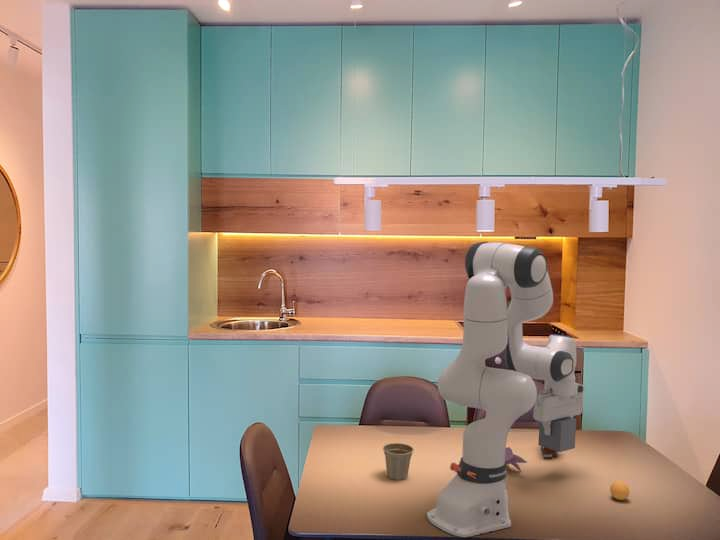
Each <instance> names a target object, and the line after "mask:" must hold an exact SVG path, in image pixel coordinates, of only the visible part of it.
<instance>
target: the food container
mask: <svg viewBox="0 0 720 540" xmlns="http://www.w3.org/2000/svg"><path fill="white" fill-rule="evenodd" d="M540 451H541V452H542V453H541V452H540V453H541V456H542V459H543V460H553V459H552V458H555V457H556V458H557V457H558V453H559V452H557V451H555V450H552V449H549V448H546V447H543V446H540ZM556 458H555V459H556Z"/></svg>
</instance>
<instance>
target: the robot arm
mask: <svg viewBox="0 0 720 540" xmlns="http://www.w3.org/2000/svg"><path fill="white" fill-rule="evenodd" d="M464 267H465V272H466V274H467V278H468V281H467V283H466V285H465V287H466V288H465V293H464V299H463V301H464V302H463V333H462V335H463V336H462V344H461V347H460V350H459V353H458V355H457V356H456V358H455V359H454V360H453V361H451V362H450V363H449V364H447V365H446V366H445V367H444V368H442V370H441V371H440V373H439V375H438V379H437V389H438V392H439V394H440V396H441V398H442V399H443V400H445V401H447V402H449V403H451V404H454V405H458V406H461V407H467V408H474V409H480V410H483V411H485V417H484V418H481V419H478V420H476V421H472V422H471V423H469V424H468V425H467V426H466V427H465V428H464V430H463V432H462V433H463V434H462V450H461V451H462V455H461V457H460V461H459V464H457V463H456V462H451V463H450V465H449V469H450V471H454V473H456V474H455V476H453V478H452V479H451V480H450V481H449V482H448V483H447V484H446V486H445V487H444V488H443V489H442V490H441V491H440V492H439V493H438V495H437V500H436V507H434V508H433V509H430V510H429V511H427V513H426V518H427V520H428V521H429V522H430V523H431V524H432V525H433V526H435V527H437V528H438V529H440V530H442V531H443V532H445V533H448V534H450V535H453V536H455V537H460V538H469V537H474V536H477V535H482V534H486V533H489V532H490V531H491V532H494V531H495V532H496V531H499V530H503V529H506V528H511V527H512V521H511V519H510V512H509V502H508V501H509V498H508V490H507V486H506V480H505V479H506V477H507V471H508V468H507V465H506V461H505V451H506V448H507V439H508V435H509V432H510V430H511V427H512V426H513V424H514V423H515V421H517V420H518V419H519V418H520V417H521V416H523V415H525V414H526V413H528V412H529V411H531V410H532V408H533V407H534V408H533V414H532V415H533V419H534V420H535V422H539V423H540V422H542V424H543V426H544V428H545V430H544V433H545V435H552V429H551V428H550V424H551V421H553V420H557V419H562V418H566V417H569V418H573V419H574V417H575V416H579V415H581V414H582V412H583V411H584V409H583V408H584V393H585V385H583V384H581V383H577V382H576V375H575V369H576V367H577V345H576V340H575V339H574V337H572V336H569V335H564V334H563V335H562V334H554V333H553V334H550V335H549V336H548V341H547V344H546V346H544V347H543V346H536V345H531V344H527V343H526V342H525V341H524V339H523V337H524V336H523V335H524V334H523V324H524V323H527V322H531V321H536V320H537V319H540V318H542V317H544V316H545V315H546V314H548V312H550V310H551V308H552V307H553V304H554V292H553V287H552V283H551V279H550V275H549V273H548V262H547V258H546V257H545V255H544V253H543V252H542V250H540V249H538V248H536V247H533V246H531V245H530V246H529V245H526V246H523V245H519V244H513V243H510V242H499V241H498V242H488V241H479V242H477V243H473V244H472V245H471V246H470V247H469V249H468V250H467V252H466V254H465V258H464ZM508 287H509V292H510V297H511V298H510V299H511V300H509V301H508V300H507V294H506V289H507V288H508ZM507 301H508V302H507ZM504 350H505V356H504V365H505V368H506V369H505V368H497V367H489V366H487V365H486V360H487V359H490V358H492V357H495V356H497V355H499V354H501V353H503V352H504ZM533 379H534V380H539V381H542V380H543V381H544V388H543V389H542V390H540V391H539V392H538V391H537V390H538V389H537V386H536V382H535V381H534V380H533ZM481 533H482V534H481Z"/></svg>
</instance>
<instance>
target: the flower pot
mask: <svg viewBox="0 0 720 540" xmlns="http://www.w3.org/2000/svg"><path fill="white" fill-rule="evenodd" d="M382 450H383V454H384V457H385V459H384V460H385V466H386V475H387V477H388V479H391V480H392V479H393V480H396V481H401V480H406V478H407V477H408V475H409V469H410V464H411V459H412V458H411V457H412V456H413V453H414V451H415V449H414V447H413V446H412V445H409V444H406V443H401V442H394V443H393V442H391V443H387V444H384V445H383V446H382Z"/></svg>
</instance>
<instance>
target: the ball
mask: <svg viewBox="0 0 720 540" xmlns="http://www.w3.org/2000/svg"><path fill="white" fill-rule="evenodd" d="M609 491H610V494H611V497H613V498H614V499H616V500H619V501H624V500H627V498H629V495H630V487H629V486H628V485H627V483H625V482H623V481H622V480H621V481H620V480H617V481H614V482H613V483H612V484H611V485H610V487H609Z"/></svg>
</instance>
